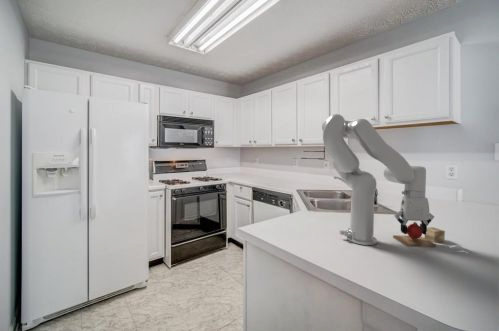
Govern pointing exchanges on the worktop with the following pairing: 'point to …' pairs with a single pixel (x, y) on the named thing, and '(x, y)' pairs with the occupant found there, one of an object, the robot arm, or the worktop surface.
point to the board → (414, 241)
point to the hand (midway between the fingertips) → (413, 233)
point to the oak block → (435, 234)
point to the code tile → (457, 249)
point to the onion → (414, 231)
